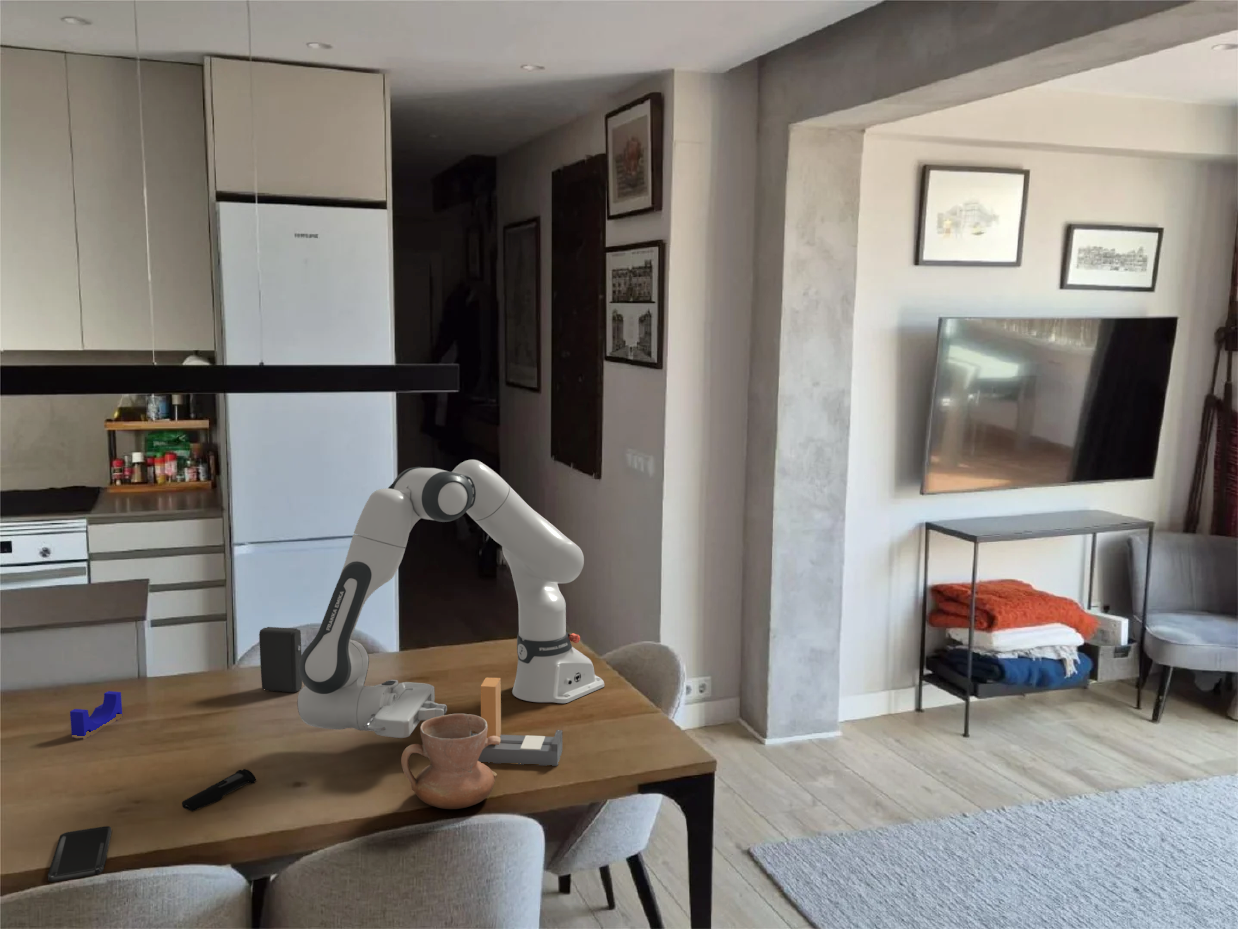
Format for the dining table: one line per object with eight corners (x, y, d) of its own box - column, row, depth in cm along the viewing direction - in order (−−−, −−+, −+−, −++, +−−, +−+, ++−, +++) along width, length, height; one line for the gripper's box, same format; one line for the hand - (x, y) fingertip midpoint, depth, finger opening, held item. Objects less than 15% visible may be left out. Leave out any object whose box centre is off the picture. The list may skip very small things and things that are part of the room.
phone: (46, 878, 157) (60, 833, 170) (47, 885, 157) (61, 839, 171) (103, 869, 159) (112, 825, 173) (103, 875, 160) (113, 831, 173)
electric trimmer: (176, 815, 180) (175, 798, 179) (243, 779, 193) (242, 763, 193) (191, 819, 178) (190, 802, 177) (258, 783, 192) (257, 767, 191)
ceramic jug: (496, 777, 194) (495, 706, 192) (505, 812, 181) (505, 736, 179) (401, 786, 190) (399, 714, 188) (403, 823, 176) (401, 745, 174)
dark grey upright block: (304, 688, 241) (302, 627, 238) (297, 694, 237) (294, 632, 235) (268, 685, 242) (266, 625, 240) (260, 691, 238) (258, 630, 236)
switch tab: (481, 743, 201) (480, 686, 199) (486, 733, 206) (486, 677, 204) (496, 744, 201) (495, 686, 199) (501, 734, 206) (500, 678, 204)
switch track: (458, 761, 201) (457, 740, 200) (466, 747, 208) (466, 726, 207) (557, 766, 199) (557, 744, 199) (562, 751, 206) (562, 730, 206)
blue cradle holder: (104, 716, 223) (102, 690, 222) (122, 718, 222) (120, 692, 221) (65, 738, 211) (63, 711, 210) (84, 740, 210) (82, 712, 209)
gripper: (360, 713, 194) (431, 716, 193) (392, 676, 214) (456, 678, 213) (361, 744, 195) (431, 747, 194) (393, 704, 215) (457, 707, 214)
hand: (445, 711), depth 204 cm, fingers closed
